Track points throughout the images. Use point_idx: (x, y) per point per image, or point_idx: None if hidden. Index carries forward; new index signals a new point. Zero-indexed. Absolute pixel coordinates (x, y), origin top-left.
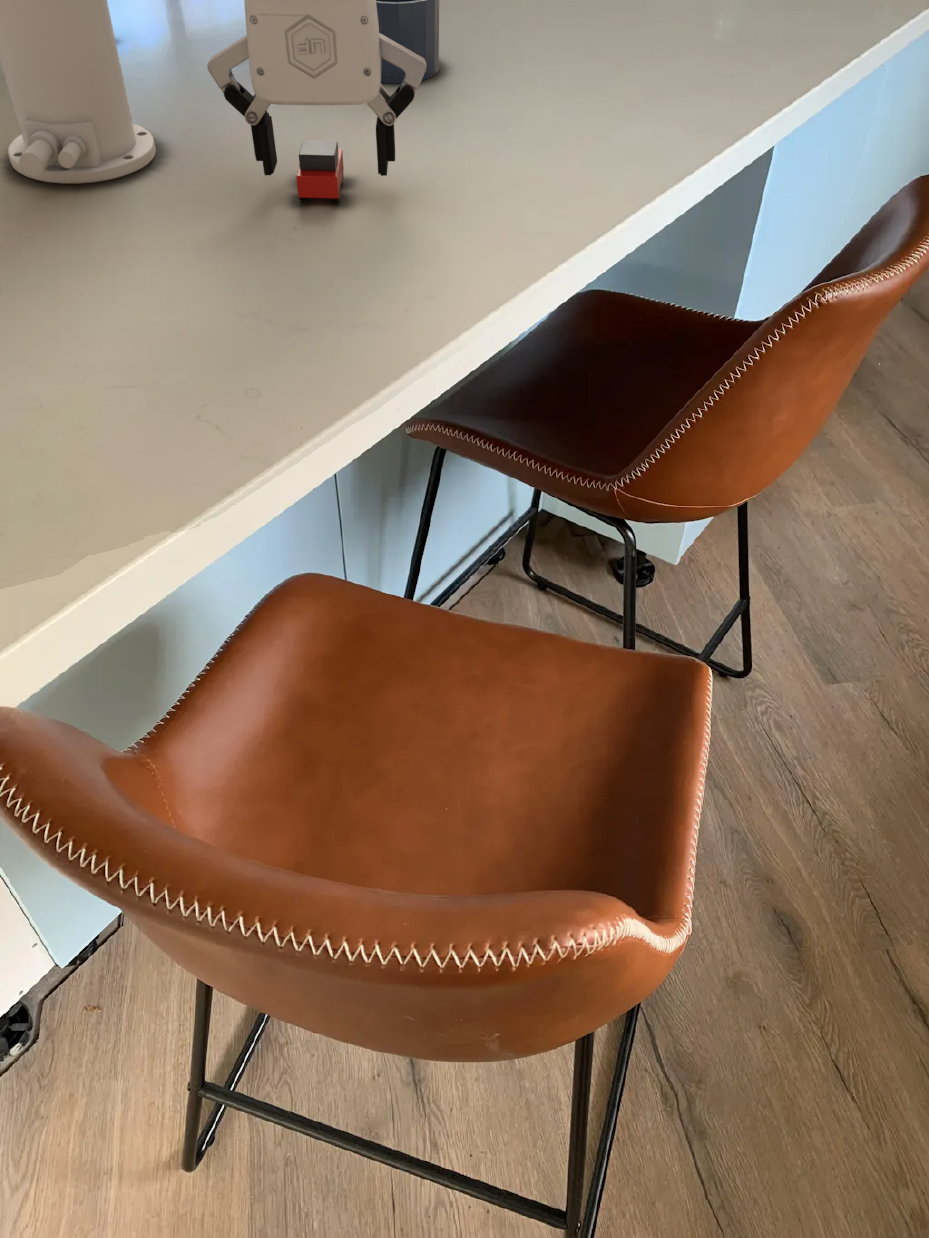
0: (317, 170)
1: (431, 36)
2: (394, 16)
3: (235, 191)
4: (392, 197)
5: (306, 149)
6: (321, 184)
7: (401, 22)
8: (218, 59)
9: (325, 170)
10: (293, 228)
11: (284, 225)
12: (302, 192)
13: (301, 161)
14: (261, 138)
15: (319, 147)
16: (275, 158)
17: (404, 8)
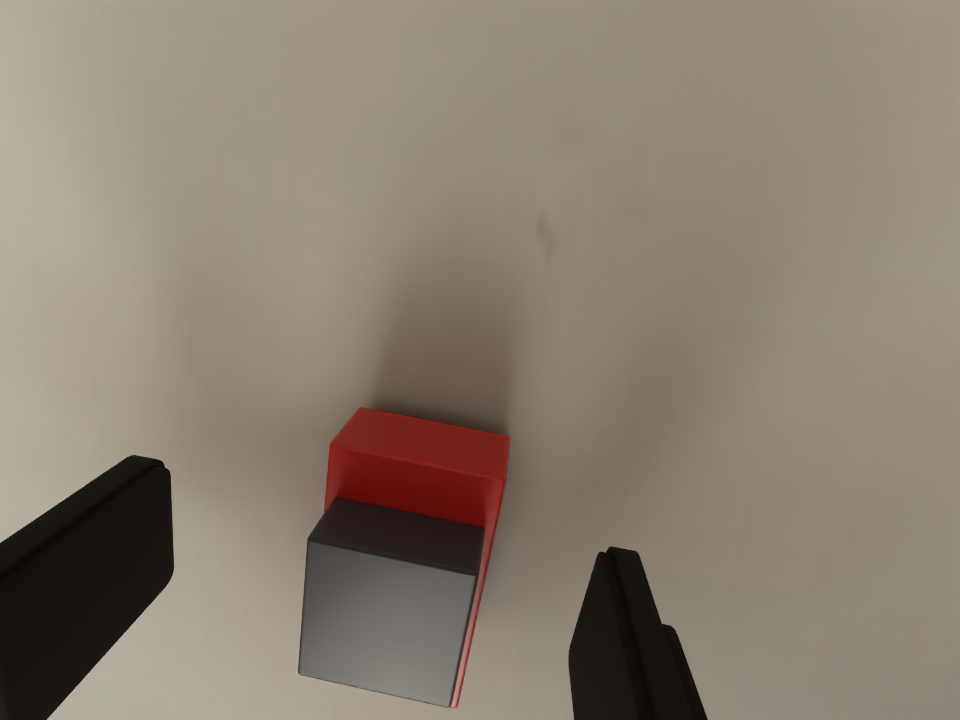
0: (410, 512)
1: None
2: None
3: (723, 566)
4: (189, 443)
5: (437, 621)
6: (406, 442)
7: None
8: None
9: (375, 505)
10: (550, 241)
11: (583, 272)
12: (491, 443)
13: (471, 551)
14: (668, 682)
15: (376, 628)
16: (577, 650)
17: None
